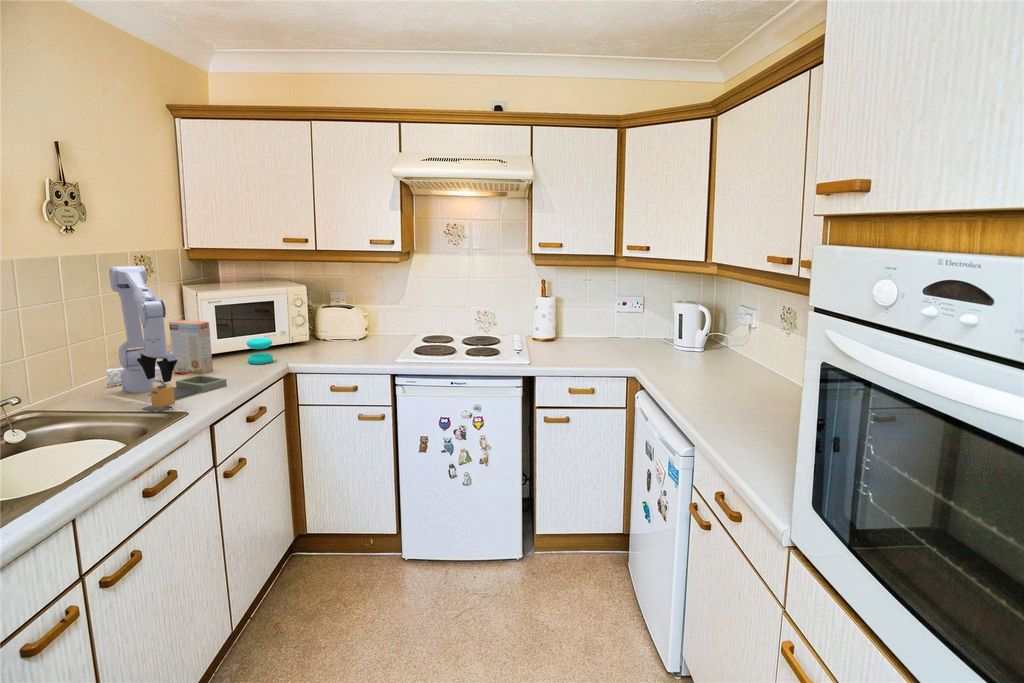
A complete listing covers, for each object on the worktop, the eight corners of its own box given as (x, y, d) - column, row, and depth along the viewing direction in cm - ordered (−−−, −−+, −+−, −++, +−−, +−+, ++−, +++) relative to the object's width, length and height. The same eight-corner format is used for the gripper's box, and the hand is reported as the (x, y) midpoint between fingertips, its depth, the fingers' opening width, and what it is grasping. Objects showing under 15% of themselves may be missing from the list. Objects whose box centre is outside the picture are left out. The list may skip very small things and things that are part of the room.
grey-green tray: (148, 398, 195) (147, 388, 194) (201, 383, 213) (200, 374, 212) (175, 403, 190) (174, 393, 189) (227, 388, 208) (226, 379, 207)
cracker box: (214, 373, 228) (209, 321, 224) (202, 376, 222) (197, 323, 218) (185, 370, 232) (180, 319, 228) (173, 373, 226) (168, 321, 222)
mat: (142, 409, 183) (142, 407, 183) (166, 402, 190) (165, 401, 190) (157, 412, 181) (157, 411, 180) (180, 405, 188) (180, 404, 188)
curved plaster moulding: (169, 388, 207) (166, 365, 206) (102, 395, 199) (99, 371, 198) (172, 382, 217) (170, 360, 216) (109, 388, 209) (106, 366, 208)
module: (151, 406, 184) (149, 387, 183) (166, 402, 189) (164, 383, 188) (160, 408, 183) (158, 388, 182) (175, 404, 188) (173, 384, 186)
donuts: (252, 342, 239) (242, 339, 245) (253, 366, 241) (244, 362, 247) (275, 339, 246) (265, 336, 252) (277, 362, 248) (267, 358, 254)
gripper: (182, 338, 182) (186, 380, 185) (151, 334, 187) (155, 374, 190) (161, 342, 175) (165, 385, 178) (130, 337, 181) (134, 379, 184)
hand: (159, 380), depth 184 cm, fingers open, 7 cm apart
